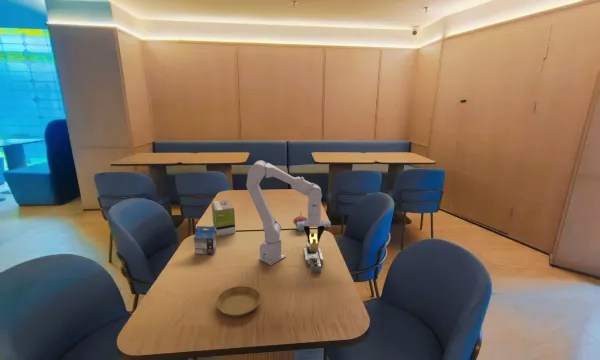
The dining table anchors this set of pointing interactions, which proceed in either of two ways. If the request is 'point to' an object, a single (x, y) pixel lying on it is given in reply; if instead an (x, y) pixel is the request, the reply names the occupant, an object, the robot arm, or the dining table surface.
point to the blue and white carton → (205, 240)
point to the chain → (313, 259)
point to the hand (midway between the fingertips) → (313, 241)
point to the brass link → (313, 243)
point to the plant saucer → (238, 300)
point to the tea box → (223, 217)
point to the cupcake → (299, 219)
